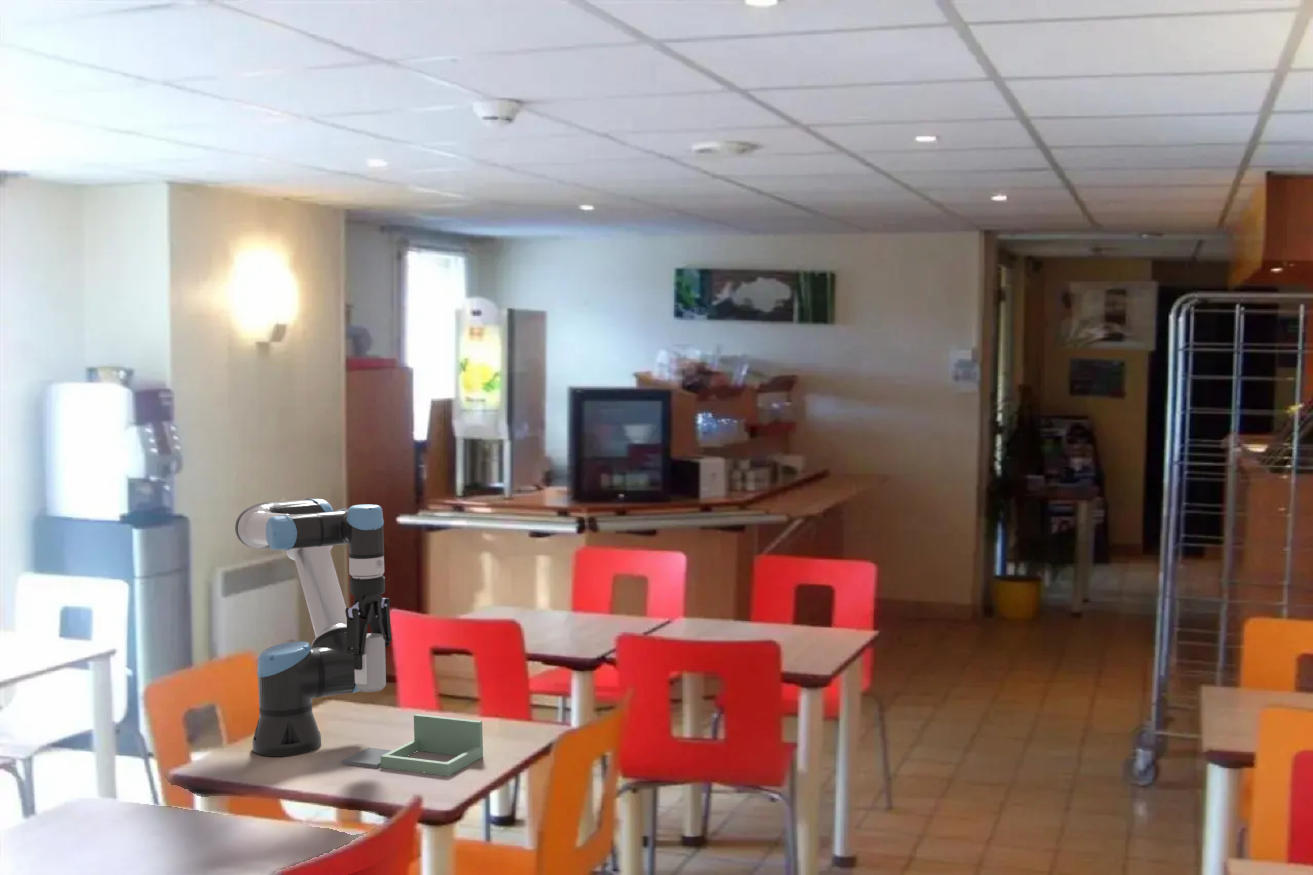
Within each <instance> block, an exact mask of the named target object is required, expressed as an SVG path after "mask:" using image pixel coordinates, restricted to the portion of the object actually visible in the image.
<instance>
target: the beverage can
mask: <svg viewBox="0 0 1313 875" xmlns="http://www.w3.org/2000/svg"><path fill="white" fill-rule="evenodd" d="M364 654H366V656H367V684H356V687H357V688H358V689H359V690H360V691H359V692H363V693H374V692H375V693H376V692H379V691H383V689H384V688H385V687H386V685H387V674H386V673H387V672H386V671H387V670H386V669H387V668H386V667H387V666H386V659H385V654H386V647H385V640H384V639H383V635H382V634H378V633H372V632H371V633H370V632H369V633H368V632H367V635H366V642H365V648H364Z"/></svg>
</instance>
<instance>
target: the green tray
mask: <svg viewBox="0 0 1313 875" xmlns="http://www.w3.org/2000/svg"><path fill="white" fill-rule="evenodd" d="M413 736H414V737H413V738H414V739H412V740H411V741H409V742H406V743H404V744H402V745H400V746H399V747H396V748H394V749H391V750H392V751H390V752H388V753H386V754H384V755H382V756H381V766H380V768H383V769H390V770H398V769H399V770H398V771H405V770H407V772H412V771H415V772H414V773H420V772H425V773H424V774H428V773H430V774H429V775H437V776H445V777H449V776H452V775H453V774H455V773H456V772H458V771H460V770H462V769H464V768H466V767H467V766H469V765H471V764H472V763H474V762H476V761H478V760H480V759H481V758H484V746H483V744H484V740H483V736H484V735H483V721H482V720H474V719H468V718H467V719H466V718H457V717H446V716H438V715H428V714H420V713H418V714H417V713H416V714H414V715H413ZM416 751H418V752H424V751H428V752H427V753H433V752H434V754H442V755H450V756H455V757H453V758H451V759H450V760H448V761H439V760H430V759H423V758H415V757H409V756H408V755H410V756H412V755H414V754H415V753H414V752H416ZM413 753H414V754H413ZM416 753H417V752H416ZM411 754H412V755H411ZM407 756H408V757H407Z"/></svg>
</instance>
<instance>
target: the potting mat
mask: <svg viewBox="0 0 1313 875" xmlns="http://www.w3.org/2000/svg"><path fill="white" fill-rule="evenodd" d="M392 750H393V749H385V748H384V749H383V748H375V747H367V748H364V749H363V750H361V751H359V752H357V753H355V754H352V755H350V756H348V757H346V758H343V759H342V760H341V763H342V764H341V765H348V766H355V767H364V768H371V769H372V768H373V769H378V768H381V756H382V755H384V754H386V753H388V752H390V751H392Z"/></svg>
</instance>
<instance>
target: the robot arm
mask: <svg viewBox="0 0 1313 875" xmlns="http://www.w3.org/2000/svg"><path fill="white" fill-rule="evenodd" d="M384 525H385V520H384V514H383V508H382V507H381V505H378V504H370V503H369V504H364V503H363V504H355V505H352V506H350V507H349V508H341V509H338V510H336V511H334V509H333V507H332V505H331V504H330V503H329V502H328V501H327V500H325V499H322V498H310V497H308V498H305V499H297V500H296V499H294V500H293V499H292V500H281V501H280V500H278V501H264V502H260V503H255V504H253V505H251V506H249V507H247V508H245V509H244V510H242V512H240V514H239V515H238V517H237V518H236V520H235V524H234V531H235V532H234V533H235V536H236V538H237V539H238V540H239V541H240V542H241V543H242V544H243V545H245V546H247V547H249V548H253V549H259V550H272V551H285V553H286V556H287V557H288V558H289V559H290V560H293V561H295V565H296V569H297V572H298V578H299V580H300V583H301V588H302V591H303V595H304V598H305V601H306V606H307V609H308V613H309V616H310V621H311V625H312V627H313V632H314V635H315V638H314V639H313V640H312V642H311V645H310V643H309V641H305V640H304V641H303V640H298V641H287V642H283V643H278V644H276V645H272V646H270V647H268V648H265V649H264V650H263V651H261V652H260V654H259V655H258V658H257V659H258V660H257V672H256V674H257V685H258V686H257V688H258V706H259V707H258V709H259V714H258V716H259V717H258V720H257V723H256V727H255V730H254V734H253V738H252V752H253V753H254V754H257V755H259V756H265V757H266V756H267V757H287V756H289V757H291V756H296V755H302V754H305V753H309V752H312V751H314V750H317V749H318V748H320V747H321V745H322V733H321V731H320V730H319V727H318V724H317V721H316V717H315V715H314V713H313V699H315V698H316V699H317V698H324V697H330V696H337V695H345V694H355V693H357V692H361V691H360V690H359V689H358V688H357V687H356V684H367V656H366V654H364V648H365V642H366V635H367V634H368V628H369V626H370V629H371V633H378V634H382V635H383V639H384V640H385V648H387V647H390V645H391V643H390V642H392V627H391V626H392V625H391V616H390V615H391V614H390V612H391V610H390V606H391V599H390V597H387V598H386V597H383V596H382V594H384V593H385V592H386V579H385V578H386V577H385V576H384V573H385V548H384V547H385V545H384V542H385V538H384V537H385V536H384V535H385V534H384ZM340 545H348V569H349V570H348V572H349V573H348V574H349V575H350V576H351V577H350V579H349V592H350V594H351V595H353V597H354V599H353V605H352V606H351V607H347V606H346V602H345V598H344V595H343V592H342V589H341V588H342V587H341V586H340V582H339V577H338V574H337V571H336V567H335V564H334V561H333V557H332V554H331V550H332V548H333V547H334V546H340ZM386 654H387V653H385V660H386V658H387V657H386Z"/></svg>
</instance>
